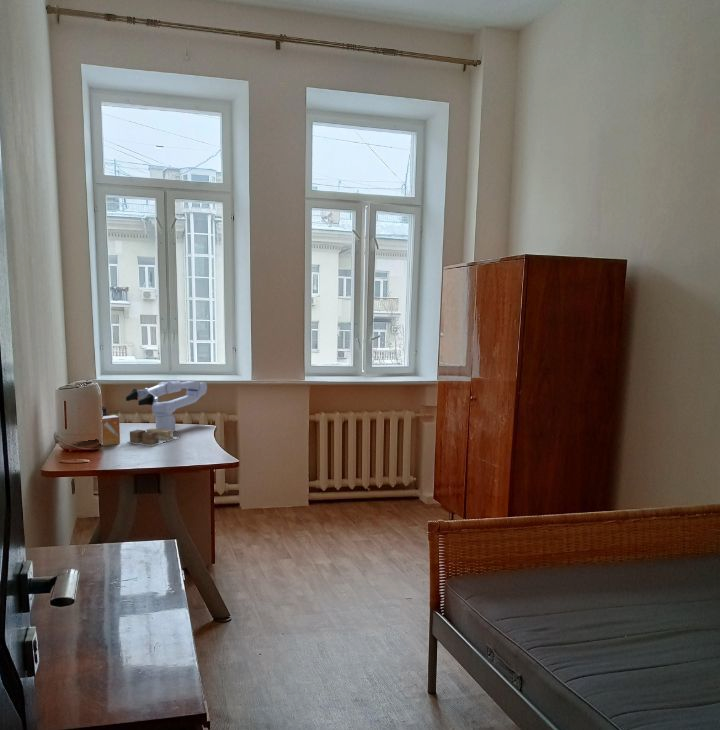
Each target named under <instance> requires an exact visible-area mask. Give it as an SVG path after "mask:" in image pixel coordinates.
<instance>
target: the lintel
mask: <svg viewBox="0 0 720 730" xmlns="http://www.w3.org/2000/svg"><path fill="white" fill-rule="evenodd" d="M145 430H146V432H149V431H154V432H158V436H159V439H164V440H169V439H172V438H173V437H174V431H173V430H166V429H158V428H156V427H152V428H151V427H150V428H147V429H145Z"/></svg>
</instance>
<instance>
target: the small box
mask: <svg viewBox="0 0 720 730" xmlns="http://www.w3.org/2000/svg"><path fill="white" fill-rule="evenodd" d="M101 422H102V426H103V446H102V447H105V446H113V445H119V444H121V435H120V434H121V431H120V427H121V426H120V416H118V415H115V414H113V415H107V416H103V418H102V420H101Z"/></svg>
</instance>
